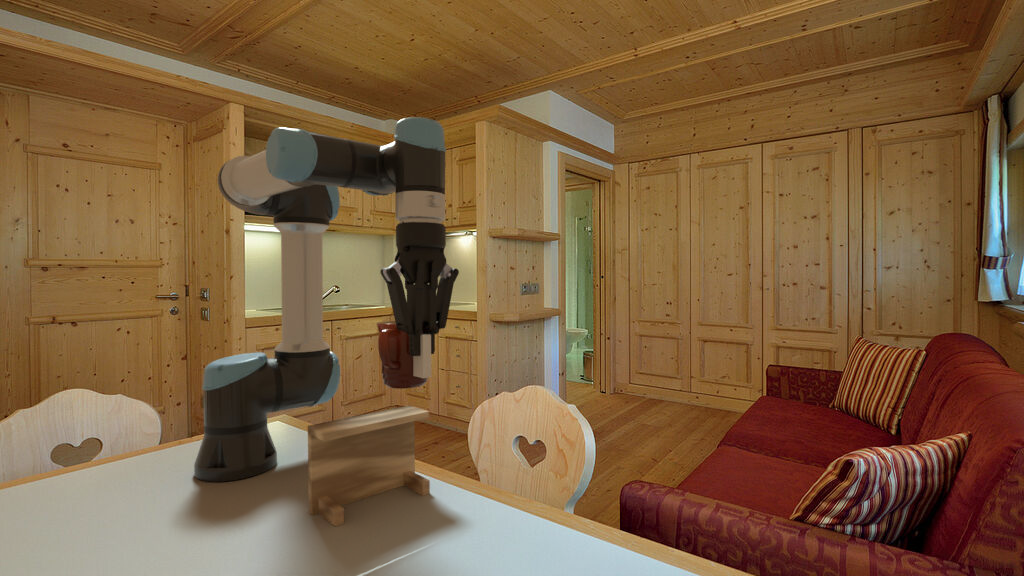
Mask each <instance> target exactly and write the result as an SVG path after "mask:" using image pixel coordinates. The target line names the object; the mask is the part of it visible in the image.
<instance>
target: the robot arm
mask: <svg viewBox="0 0 1024 576" xmlns="http://www.w3.org/2000/svg"><path fill="white" fill-rule="evenodd" d="M267 139H268V140H267V142H266V148H265V149H264V150H263V151H260V152H258V153H256V154H254V155H238V156H235V157H233V158H231V159H229V160H228V161H226V162H224V164H223V165H222V166H220V169H219V171H218V173H217V185H218V186H217V187H218V190H219V192H220V193H221V195H222V196H223V197H224V199H225V201H227V202H229V204H230V205H232V206H234V207H235V208H237V209H239V210H241V211H243V212H247V213H250V214H254V215H259V216H269V217H272V218H273V226H274V227H275V228H276V230H278V231H279V232H280V235H281V236H280V248H281V249H280V250H281V253H280V254H281V255H280V256H281V257H280V258H281V260H280V261H281V265H280V266H281V269H280V270H281V276H280V277H281V341H280V342H279V343H278V344H277V346H276V347H274V357H271V358H268V356H267V354H266V353H264V352H260V351H259V352H249V353H239V354H235V355H230V356H225V357H222V358H219V359H216V360H214V361H211V362H210V363H208V364H207V365H206V366H205V367H204V370H203V377H202V378H203V379H202V381H203V382H202V386H201V389H202V391H203V397H202V398H203V399H202V400H203V438H202V441H201V444H200V447H199V449H198V452H197V456H196V458H195V462H194V468H193V469H194V470H193V471H194V477H195V479H197V480H199V481H204V482H218V483H219V482H229V481H230V482H231V481H237V480H242V479H247V478H251V477H254V476H258V475H261V474H262V473H266V472H267V471H270V470H271V469H273V468H274V467H275V466H276V465H277V463H278V457H277V456H278V452H277V449H276V446H275V444H274V441H273V438H272V436H271V434H270V430H269V426H268V414H270V413H276V412H282V411H288V410H293V409H294V410H295V409H298V408H299V409H300V408H305V407H308V408H310V407H314V406H318V405H321V404H324V403H327V402H329V401H330V400H332V399H333V398H334V396H335V395H336V393H337V391H338V388H339V384H340V379H341V365H340V364H339V363H340V360H339V357H338V355H336V353H334V352H333V351H331V349H330V348H331V346H330V344H329V343H328V342H326V341H325V340H324V331H323V330H324V329H323V328H324V321H323V320H324V318H323V315H324V311H323V310H324V309H323V307H324V306H323V303H324V302H323V301H324V298H323V296H324V295H323V292H324V291H323V289H324V288H323V272H324V271H323V235H324V233H325V232H326V231H327V230H329V228H330V222H331V221H334V220H335V219H336V218H337V217H338V214H339V209H340V205H341V204H340V202H341V201H340V198H341V197H340V190H339V188H343V189H351V190H352V189H353V190H360V191H363V192H364V193H365V194H367V195H369V196H374V197H375V196H376V197H379V196H388V195H391V194H393V193H395V220H397V222H399V223H397V225H396V226H395V246H396V248H397V249H396V250H397V251H396V255H395V256H394V262H393V263H391V265H389V266H387V267H382V268H381V269H380V272H379V273H380V275H381V277H382V278H383V280H384V281H385V283H386V285H387V286H386V288H387V290H388V295H389V300H390V304H391V308H392V312H393V318H394V321H395V322H396V326H397V329H398V330H400V331H403V332H406V333H407V334H408V335H409V353H410V355H411V356H413V376H416V377H420V378H428V379H429V378H432V355H434V354H435V351H436V341H435V340H436V338H435V337H436V335H437V334H439V333H440V330H442V329H443V330H444V329H445V328H446V326H447V321H448V316H449V310H450V306H451V300H452V296H453V295H452V294H453V290H454V289H453V288H454V284H455V281H456V279H457V277H458V276H459V274H460V273H459V271H460V270H459V269H458V268H452V267H451V266H450V265H449V264H448V263H447V257H446V255H445V248H446V247H447V246H446V245H447V244H446V243H447V242H446V241H447V239H446V237H447V236H446V234H447V230H446V229H447V228H446V226H445V224H443V222H445V220H446V152H447V148H446V144H445V143H446V142H445V130H444V127H443V125H442V124H441V123H440V122H439V121H437V120H435V119H432V118H426V117H420V116H419V117H417V116H415V117H413V116H411V117H405V118H402V119H400V120H398V121H397V122H396V125H395V129H394V135H393V139H394V141H393V142H390V143H388V144H385V145H380V144H375V143H374V144H373V143H370V142H364V141H359V140H353V139H348V138H342V137H339V136H338V137H337V136H333V135H327V134H321V133H319V132H312V131H307V130H305V129H303V128H290V127H282V126H281V127H276V128H274V129H273V130H272V131H271V133H270V136H269V137H268V138H267ZM401 276H402V277H403V278H404V284H403V281H402V278H401ZM405 290H406V292H405ZM422 332H423V333H422Z"/></svg>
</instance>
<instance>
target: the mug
mask: <svg viewBox="0 0 1024 576" xmlns="http://www.w3.org/2000/svg"><path fill="white" fill-rule="evenodd" d="M376 327H377V329H378V333H379V334H378V337H377V338H378V339H377V340H378V341H377V345H378V346H377V347H378V354H379V358H380V362H381V375H382V381H383V384H384V385H385V386H386V387H387V388H390V389H394V390H395V389H397V390H398V389H403V390H404V389H414V388H415V389H416V388H418V387H422V386H424V385H425V384H426V383H428V379H429V377H428V378H420V377H416V376H413V356H411V355H410V353H409V335H408V334H407V333H406V332H403V331H400V330H398V329H397V326H396V322H395V320H389V321H388V320H386V321H379V322H376ZM422 333H423V332H422Z"/></svg>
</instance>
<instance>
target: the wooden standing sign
mask: <svg viewBox="0 0 1024 576" xmlns="http://www.w3.org/2000/svg"><path fill="white" fill-rule="evenodd" d="M429 418H430V411H428V410H425V409H423V408H419V407H416V406H413V405H406V406H400V407H396V408H391V409H386V410H381V411H376V412H369V413H366V414H360V415H355V416H350V417H346V418H341V419H335V420H331V421H330V420H329V421H326V422H325V421H324V422H321V423H315V424H311V425H307V469H308V471H307V472H308V473H307V474H308V476H307V478H308V479H307V480H308V482H307V483H308V513H309V514H311V516H314V515H317V514H319V515H320V516H321V517H322V518H323V519H324V520H326V521H327V522H329V523H330V524H331V525H333V526H334V527H338V526H341V525H343V524H345V516H344V515H345V509H344V507H343V506H344V505H348V504H350V503H353V502H357V501H360V500H362V499H366V498H369V497H372V496H375V495H378V494H382V493H384V492H387V491H390V490H393V489H396V488H400V487H402V486H405V487H407V488H408V489H409V490H412V491H413V492H415V493H417V494H419V495H421V496H422V497H424V496H426V495H429V494H430V491H431V489H430V488H431V487H430V486H431V485H430V483H431V481H430V479H428V478H426V477H424V476H422V475H420V474H418V473H416V460H415V459H416V458H415V456H416V455H415V453H416V451H415V450H416V445H415V444H416V442H415V439H416V437H415V436H416V435H415V422H417V421H421V420H425V419H426V420H427V419H429Z"/></svg>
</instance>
